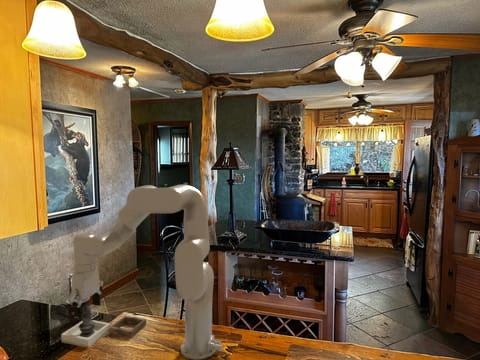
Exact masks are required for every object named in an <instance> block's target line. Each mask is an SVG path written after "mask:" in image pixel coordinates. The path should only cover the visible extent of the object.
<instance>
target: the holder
mask: <svg viewBox="0 0 480 360" xmlns="http://www.w3.org/2000/svg"><path fill="white" fill-rule="evenodd" d="M125 324H130V325H135V326H134V327H132V329H126V328H122V326H124V325H125ZM146 326H147V319H146V318H141V317H135V316H130V315H124V316H122V317H121V318H119V320H118V321H116V322H114V323H113V324H111V327H110V328H109V332H108V333H109V335H113V334H114V335H113V336H119V337H124V338H129V339H133V338H135V336H136V335H137V334H138V333H140V331H142V329H144V328H145V327H146Z"/></svg>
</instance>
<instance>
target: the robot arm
mask: <svg viewBox="0 0 480 360" xmlns="http://www.w3.org/2000/svg"><path fill="white" fill-rule="evenodd" d="M207 206H208V205H207V203H206V200H205V197H204V195H203V194H202V193H201V191H200V190H199V189H197V188H195V187H194V186H191V185H188V184H177V185H174V186H173V185H172V186H169V187H157V186H154V185H150V184H148V185H147V184H146V185H141V186H138V187H134V188H132V189H131V190H130V191H129V192H128V194H127V196H126V203H125V205H124V206H122V207H121V209H119V210H118V213H117V217H118V219H119V220H118V221H117V223H116V224H115V225H114V226H113V227H111V228H110V229H109V231H105V232H103V233H101V234H98V235H96V234H94V233H90V232H84V233H78V234H76V235H74V237H73V262H74V272H73V274H72V278H71V294H70V295H69V296H68V297H67V299H68V302H69V303H70V305H71V306H72V307H73V309H74V317H80V318H81V317H82V306H80V305H81V303H82V301H83V300H84V299H86V298H88V297H90V298H91V296H92V305H93V306H101V295H102V291H103V288H104V287H103V286H104V280H100V274H99V268H98V266H97V265H98V263H97V262H98V260H97V258H101V257H103V256H106V255H108V254H110V253H112V252H113V251H115V250H117V249H118V248H120V247H121V246H122V245H124V244H125V242H126V241H128V239H129V238H130V237H131V236H132V235H133V234H134V233H135V232H136V230H137V227H138V226H139V225H141V223H142V222H143V221H144V220H145V219H147V217H149V215H150V214H174V213H177V212H180V211H181V210H183V211H184V212H183V233H184V234H183V239H182V240H181V241H180V242H179V243H178V245H177V246H176V247H175V252H174V272H175V273H174V274H175V287H176V288H175V289H176V291H177V293H178V295H179V297H180V298H181V299H182V300H183V301H185V302H184V313H185V314H184V324H185V325H184V341H183V343H182V344H181V345H180V353H181V355H182V356H183V357H185V358H187V359H190V360H204V359H207V358H209V357H211V356H213V355H214V354H215V352H216V351H218V352H222V351H223V344H222V341H220V340H216V339H215V334H213V293H214V292H213V291H214V282H215V280H214V279H215V274H214V269H213V268H212V266H211V265H210V264H209V263H207V262H204V260H205V258H206V257H207V256H208V255H209V253H210V249H211V248H210V233H209V232H210V231H209V230H210V229H209V221H208V218H209V217H208V207H207ZM95 235H96V236H95ZM78 297H80V298H78ZM77 300H79V302H78V303H77Z"/></svg>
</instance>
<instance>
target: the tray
mask: <svg viewBox="0 0 480 360" xmlns="http://www.w3.org/2000/svg"><path fill="white" fill-rule="evenodd" d="M91 320H92V319H91ZM92 321H94V322H95V323H96V324H95V327H94V329H93V330H94V331H95V333H94V334H93V335H91V336H90V337H87V338H86V337H81V336H80V333H81V331H80V328H79V325H80V324H81V323H82V322H83V321H81V322H80V323H78V324H77V325H75V326H74V327H72V326H71V327H70V328H69V329H67V330H66V331H64V332H62V333H61V337H60V338H61V343H63V344H69V345H74V346H78V347H83V348H87V349H88V348H90V347H92V346H93V345H94V344H96V343H97V342H99V341H100V340H101V339H102V338H103V337H105V336H106V335H107V334H108V333H109V328H110V327H111V326H112V324H111V323H109V322H105V321H99V320H94V319H93V320H92ZM105 334H106V335H105ZM104 335H105V336H104ZM100 338H101V339H100Z"/></svg>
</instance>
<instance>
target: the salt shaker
mask: <svg viewBox="0 0 480 360" xmlns="http://www.w3.org/2000/svg"><path fill="white" fill-rule="evenodd" d="M82 317H83V322H82V323H81V324H80V325H79V328H80V331H81V333H80V336H81V337H86V338H87V337H90V336H91V335H93V334H94V333H95V331H94V330H93V329H94V327H95V324H96V323H95V322H94V321H95V320H94V321H92V317H93V313H92V307H91V305H90V304H89V305H88V304H86V306H84V307H83V315H82Z"/></svg>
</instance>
